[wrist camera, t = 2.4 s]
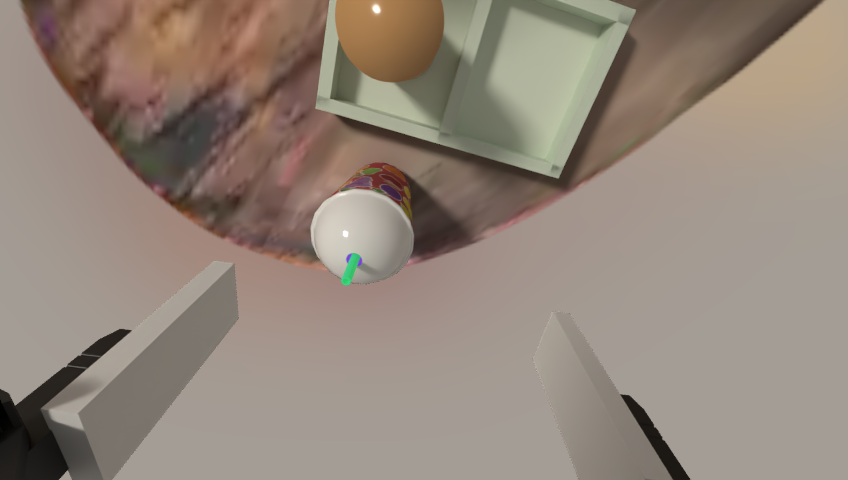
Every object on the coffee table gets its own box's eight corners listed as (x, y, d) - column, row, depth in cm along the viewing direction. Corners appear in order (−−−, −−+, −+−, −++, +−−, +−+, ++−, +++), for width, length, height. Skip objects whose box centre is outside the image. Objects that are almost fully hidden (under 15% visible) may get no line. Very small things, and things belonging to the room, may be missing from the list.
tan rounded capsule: (364, 69, 33) (327, 64, 21) (378, -7, 31) (345, -65, 18) (426, 88, 34) (427, 95, 22) (445, 16, 31) (458, -25, 19)
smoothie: (360, 228, 42) (310, 341, 24) (336, 163, 38) (257, 239, 20) (425, 212, 41) (424, 318, 23) (406, 144, 38) (389, 206, 20)
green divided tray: (325, 105, 36) (315, 108, 33) (351, -78, 29) (342, -97, 26) (547, 170, 39) (558, 178, 36) (615, 16, 32) (636, 10, 29)
